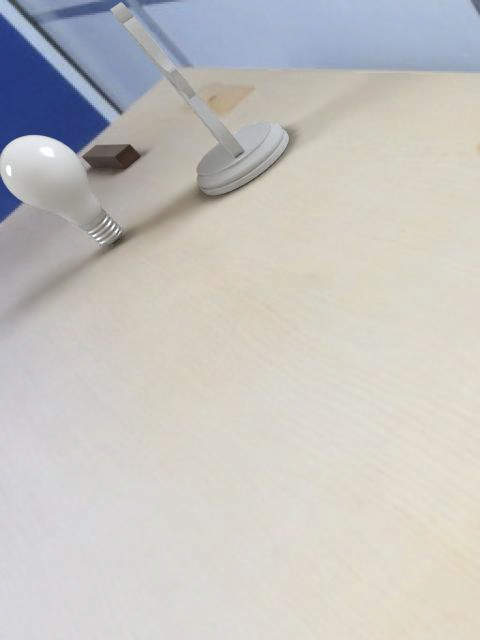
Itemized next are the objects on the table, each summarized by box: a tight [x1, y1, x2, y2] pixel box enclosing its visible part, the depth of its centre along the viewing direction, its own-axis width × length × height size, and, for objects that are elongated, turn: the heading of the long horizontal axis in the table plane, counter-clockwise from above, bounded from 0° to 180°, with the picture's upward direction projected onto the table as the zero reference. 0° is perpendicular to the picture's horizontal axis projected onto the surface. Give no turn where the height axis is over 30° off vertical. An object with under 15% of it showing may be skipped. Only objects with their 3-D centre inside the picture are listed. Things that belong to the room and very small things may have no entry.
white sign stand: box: [109, 1, 290, 196], centre depth 67 cm, size 10×10×15 cm
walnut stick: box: [81, 143, 141, 169], centre depth 90 cm, size 10×2×2 cm, turn 57°
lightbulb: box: [0, 134, 124, 247], centre depth 69 cm, size 6×6×11 cm
